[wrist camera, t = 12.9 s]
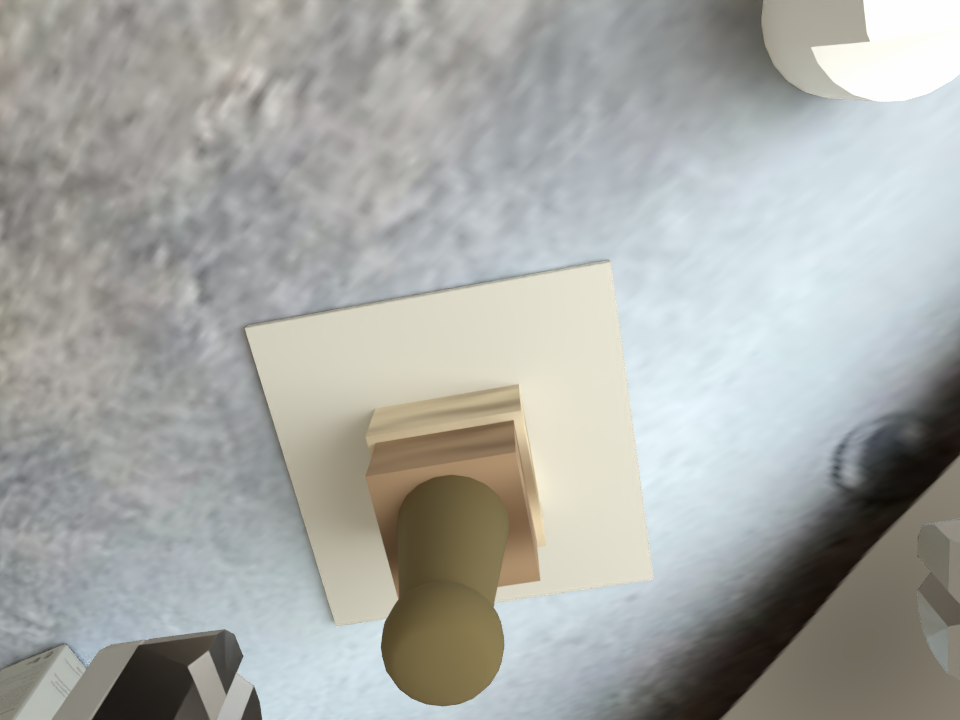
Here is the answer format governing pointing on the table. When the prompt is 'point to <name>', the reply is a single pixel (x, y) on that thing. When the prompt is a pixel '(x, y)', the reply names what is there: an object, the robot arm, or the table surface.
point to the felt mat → (451, 371)
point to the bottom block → (458, 416)
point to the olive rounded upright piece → (447, 591)
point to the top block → (464, 454)
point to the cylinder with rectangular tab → (864, 46)
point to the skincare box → (38, 684)
